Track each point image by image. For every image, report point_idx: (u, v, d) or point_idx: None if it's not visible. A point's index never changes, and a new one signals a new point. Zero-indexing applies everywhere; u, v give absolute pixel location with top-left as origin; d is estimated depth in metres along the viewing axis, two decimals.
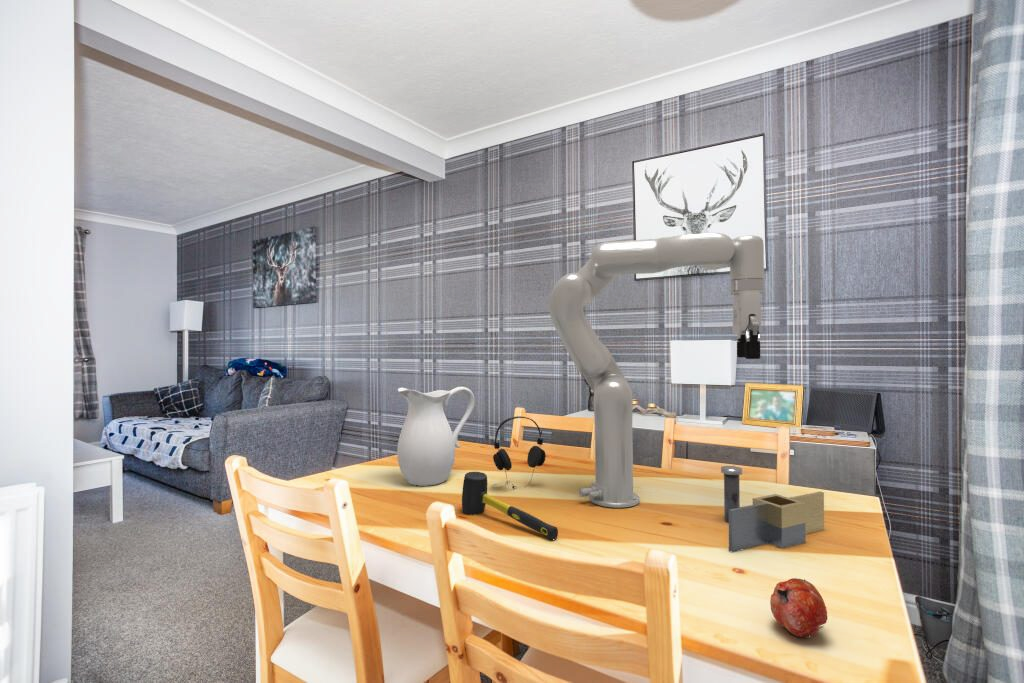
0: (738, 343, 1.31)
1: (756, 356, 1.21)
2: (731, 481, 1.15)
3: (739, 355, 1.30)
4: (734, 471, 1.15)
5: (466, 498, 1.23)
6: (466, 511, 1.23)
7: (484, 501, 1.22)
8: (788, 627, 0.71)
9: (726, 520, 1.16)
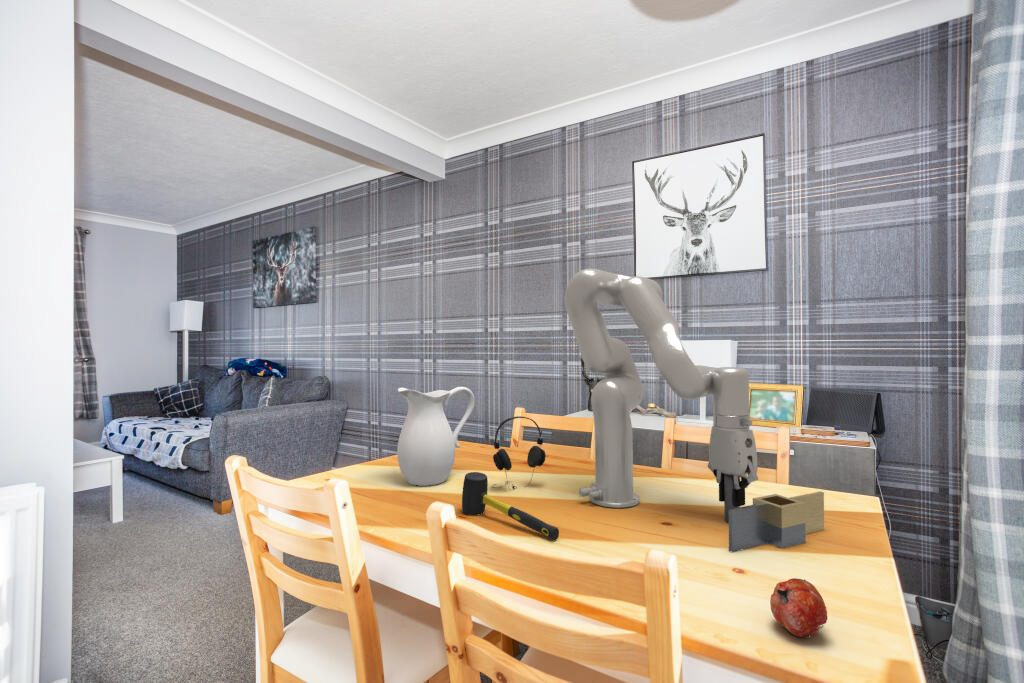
0: None
1: None
2: (731, 481, 1.15)
3: None
4: None
5: (466, 498, 1.23)
6: (466, 512, 1.23)
7: (484, 502, 1.22)
8: (788, 627, 0.71)
9: (726, 520, 1.16)
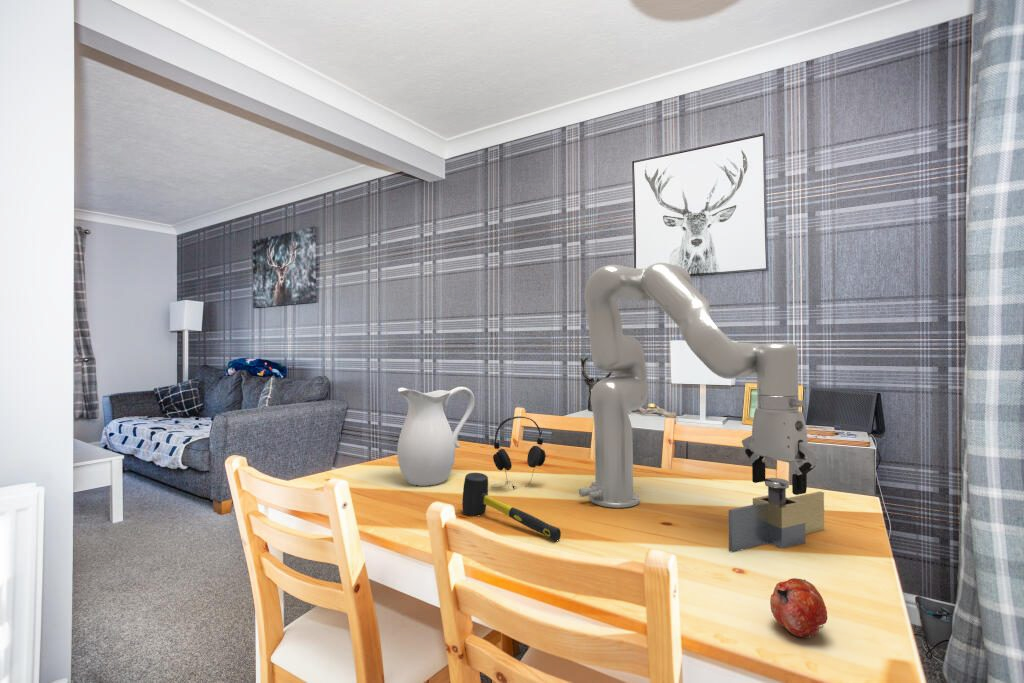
0: None
1: None
2: (777, 496, 1.05)
3: None
4: (780, 484, 1.04)
5: (466, 499, 1.22)
6: (467, 513, 1.22)
7: (485, 502, 1.21)
8: (788, 627, 0.71)
9: None
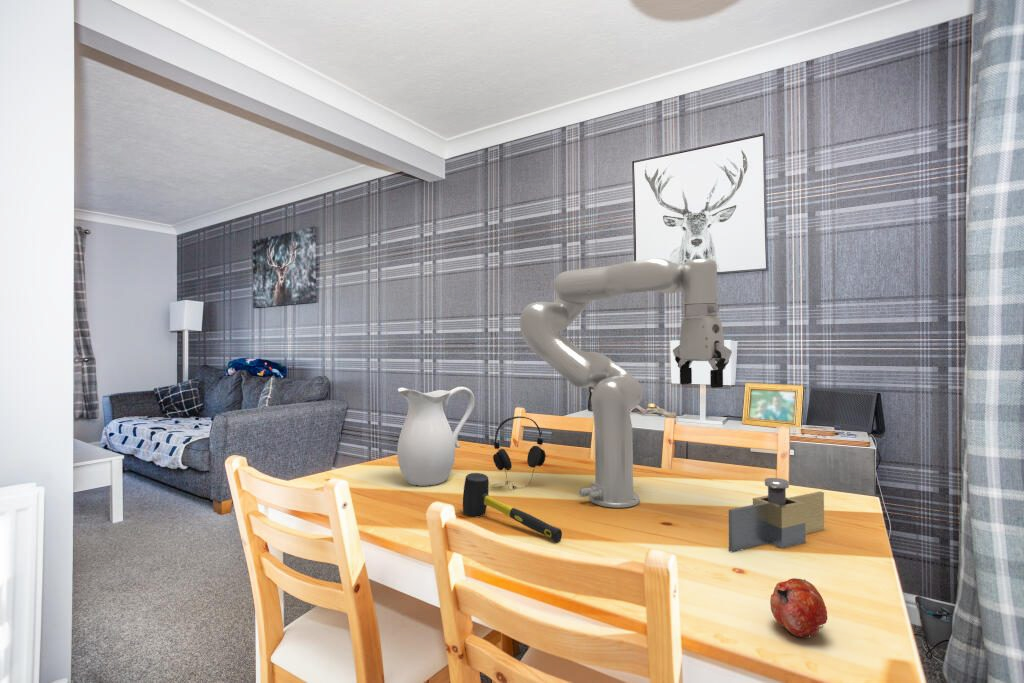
0: None
1: None
2: (777, 496, 1.05)
3: None
4: (780, 484, 1.04)
5: (467, 500, 1.22)
6: (467, 513, 1.22)
7: (486, 503, 1.21)
8: (788, 627, 0.71)
9: None
